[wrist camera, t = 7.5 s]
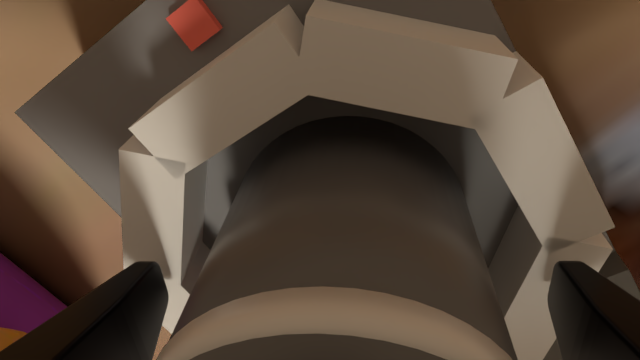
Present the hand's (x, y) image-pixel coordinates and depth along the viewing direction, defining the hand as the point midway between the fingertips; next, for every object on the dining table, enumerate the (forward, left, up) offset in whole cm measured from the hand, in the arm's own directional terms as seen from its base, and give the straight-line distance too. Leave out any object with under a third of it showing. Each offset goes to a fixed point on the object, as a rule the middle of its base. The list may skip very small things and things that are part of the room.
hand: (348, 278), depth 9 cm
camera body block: (0, 0, -5) cm, 5 cm away
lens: (0, 0, -2) cm, 2 cm away
